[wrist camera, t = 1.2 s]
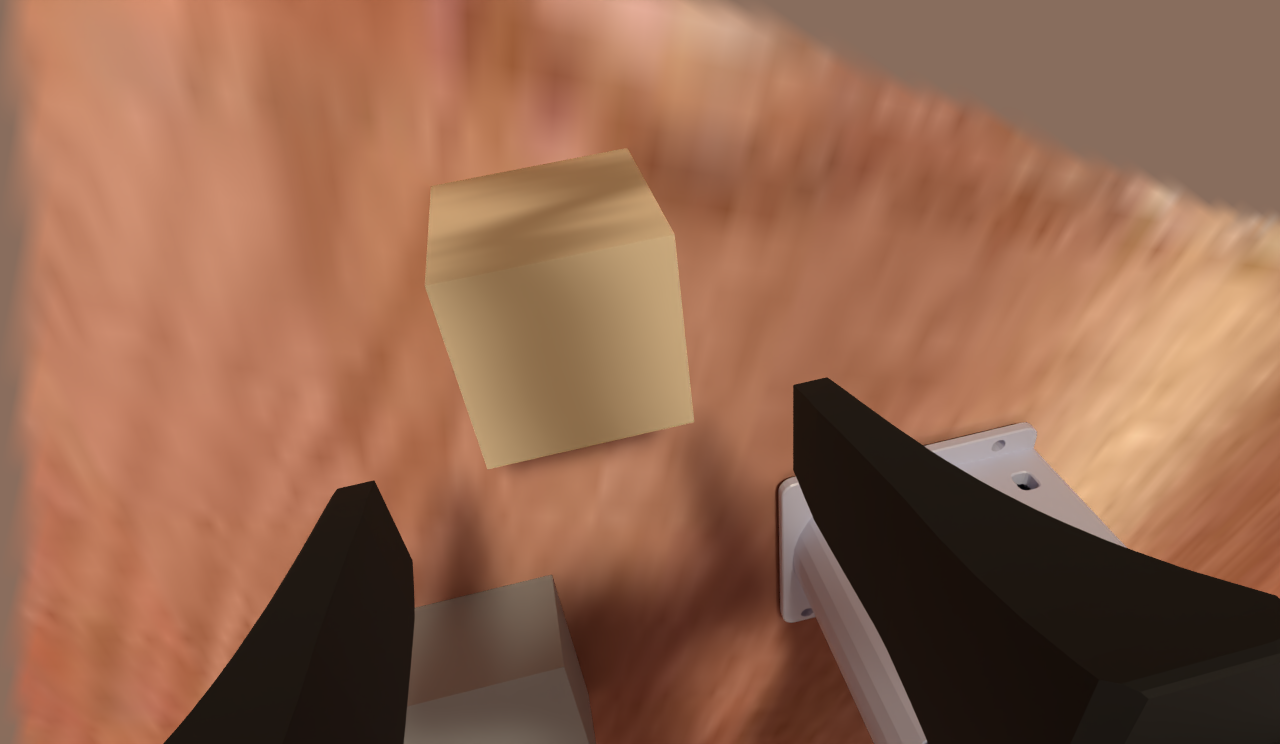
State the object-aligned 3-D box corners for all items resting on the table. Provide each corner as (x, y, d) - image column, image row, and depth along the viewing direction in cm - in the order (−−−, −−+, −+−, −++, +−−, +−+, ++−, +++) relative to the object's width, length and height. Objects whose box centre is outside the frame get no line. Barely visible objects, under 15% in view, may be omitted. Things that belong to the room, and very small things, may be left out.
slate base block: (550, 568, 27) (563, 666, 24) (587, 688, 32) (602, 783, 29) (326, 622, 26) (308, 731, 23) (398, 736, 31) (392, 839, 28)
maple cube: (626, 146, 18) (674, 234, 14) (649, 311, 21) (694, 422, 17) (430, 185, 18) (424, 285, 14) (481, 347, 21) (487, 469, 17)
